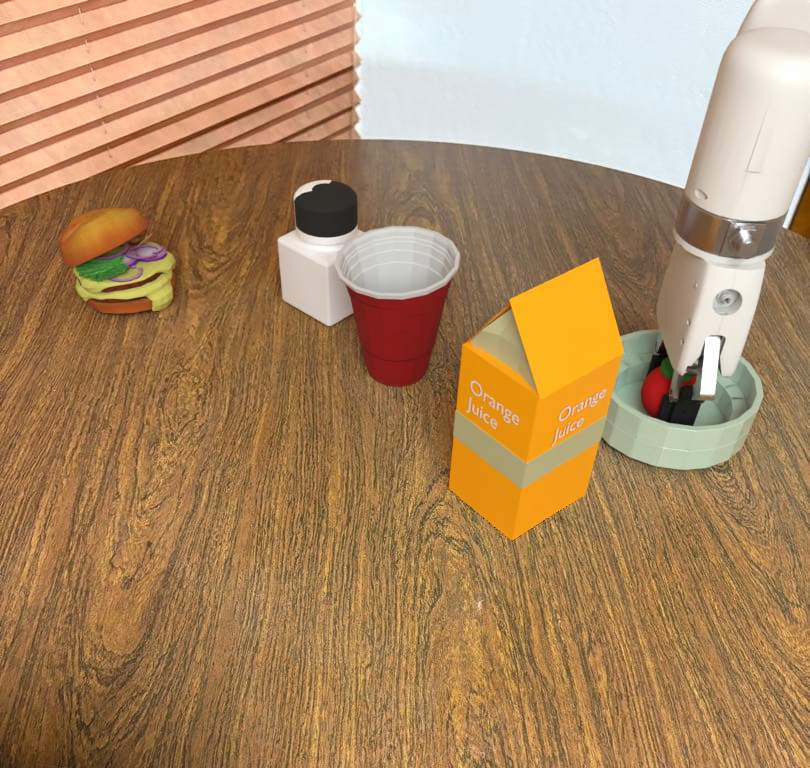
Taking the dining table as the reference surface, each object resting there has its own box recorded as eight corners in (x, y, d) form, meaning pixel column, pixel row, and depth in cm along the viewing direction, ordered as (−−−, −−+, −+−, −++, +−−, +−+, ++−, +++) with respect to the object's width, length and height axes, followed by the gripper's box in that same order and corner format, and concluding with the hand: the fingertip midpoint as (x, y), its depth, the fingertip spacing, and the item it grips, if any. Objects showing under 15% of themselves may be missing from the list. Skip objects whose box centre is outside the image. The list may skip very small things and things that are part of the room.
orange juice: (446, 489, 71) (466, 274, 57) (521, 445, 75) (558, 233, 60) (512, 544, 68) (553, 328, 53) (588, 495, 71) (645, 281, 57)
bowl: (645, 354, 85) (658, 311, 81) (773, 424, 78) (793, 380, 75) (554, 417, 78) (563, 372, 74) (686, 499, 72) (704, 454, 68)
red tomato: (657, 390, 80) (671, 340, 76) (705, 416, 78) (722, 366, 74) (623, 415, 78) (636, 365, 74) (672, 443, 75) (688, 392, 71)
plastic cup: (320, 352, 84) (313, 238, 75) (418, 325, 87) (423, 213, 78) (368, 418, 77) (367, 301, 68) (471, 386, 81) (484, 271, 72)
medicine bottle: (377, 300, 90) (378, 189, 81) (329, 328, 86) (324, 215, 77) (329, 275, 93) (325, 165, 84) (281, 301, 89) (271, 189, 80)
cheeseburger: (136, 335, 84) (93, 237, 78) (67, 323, 90) (21, 231, 83) (203, 287, 90) (168, 192, 84) (135, 279, 96) (97, 189, 89)
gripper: (813, 284, 58) (728, 479, 72) (749, 171, 70) (687, 357, 83) (703, 280, 58) (639, 475, 72) (657, 167, 70) (610, 354, 83)
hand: (665, 410), depth 77 cm, fingers closed on red tomato, 4 cm apart
